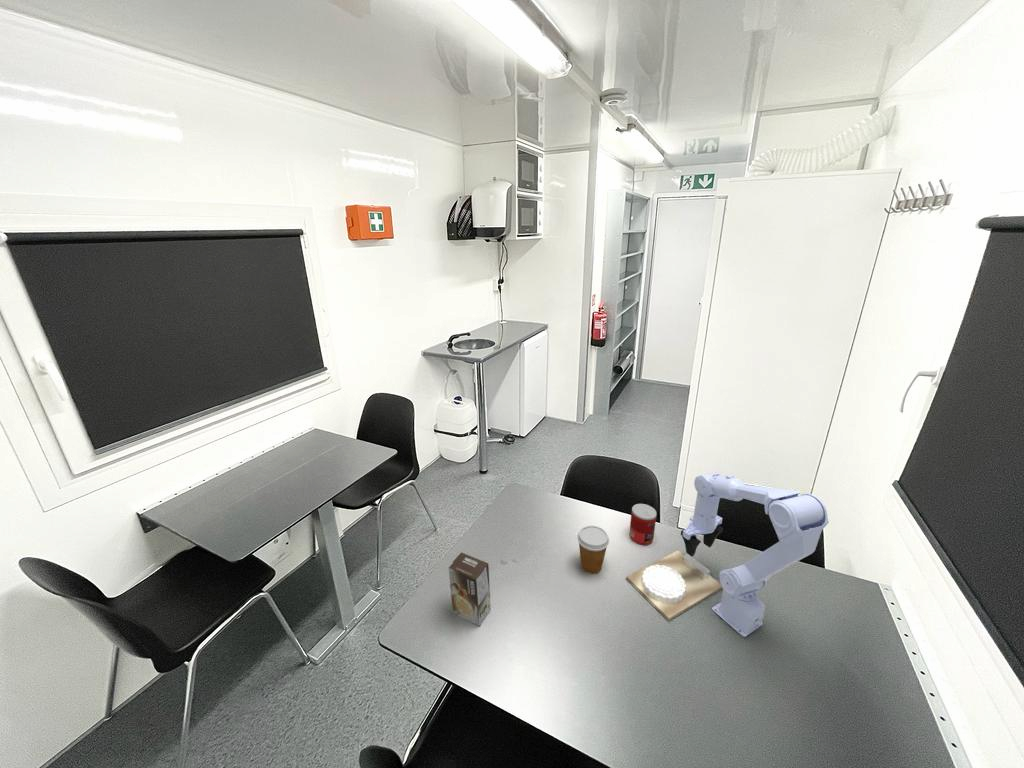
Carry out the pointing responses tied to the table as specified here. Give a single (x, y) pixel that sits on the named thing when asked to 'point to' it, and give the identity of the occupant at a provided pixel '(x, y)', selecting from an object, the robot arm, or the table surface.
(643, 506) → the canned food
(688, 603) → the wooden cutting board
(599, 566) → the disposable coffee cup
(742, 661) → the table surface
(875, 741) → the table surface
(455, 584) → the coffee box
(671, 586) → the mooncake
